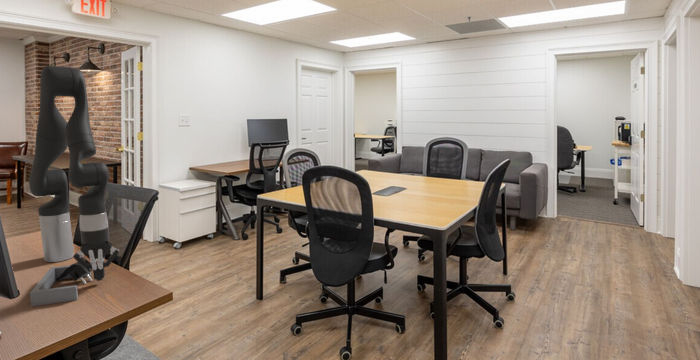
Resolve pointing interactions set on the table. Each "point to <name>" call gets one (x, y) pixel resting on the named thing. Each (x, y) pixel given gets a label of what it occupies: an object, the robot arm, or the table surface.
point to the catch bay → (53, 289)
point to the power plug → (76, 272)
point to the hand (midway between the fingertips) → (99, 279)
